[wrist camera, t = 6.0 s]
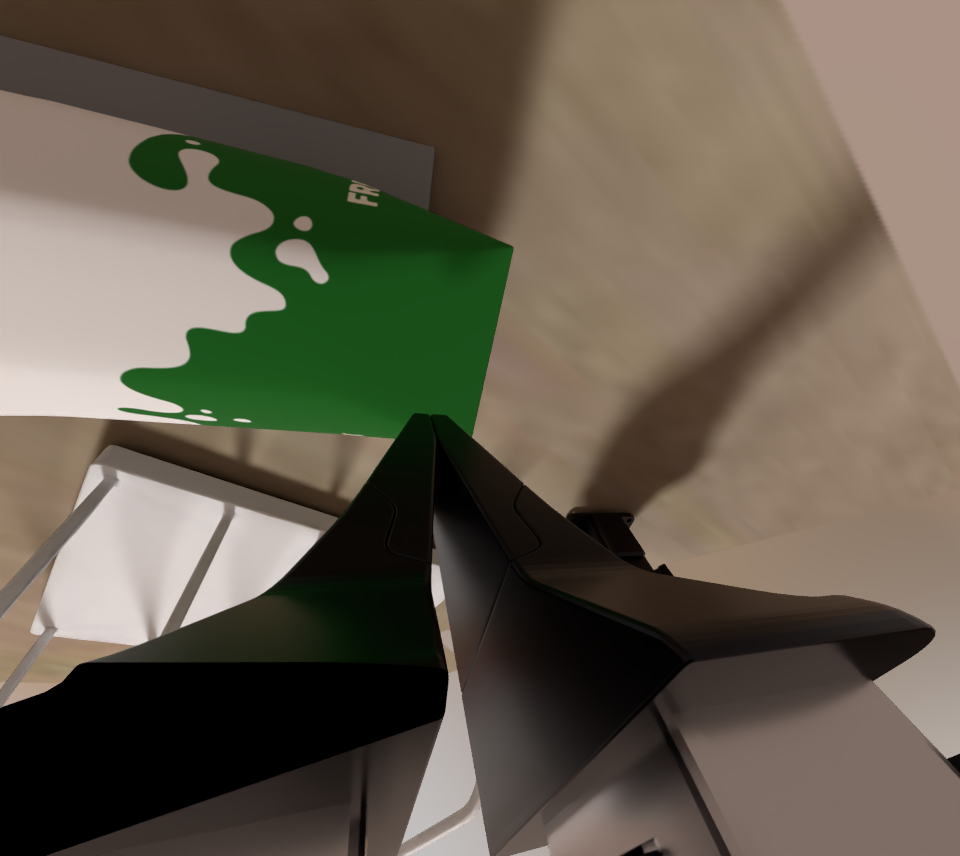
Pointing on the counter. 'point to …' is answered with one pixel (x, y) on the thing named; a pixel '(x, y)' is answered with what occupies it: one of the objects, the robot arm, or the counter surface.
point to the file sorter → (170, 563)
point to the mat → (219, 118)
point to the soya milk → (227, 285)
